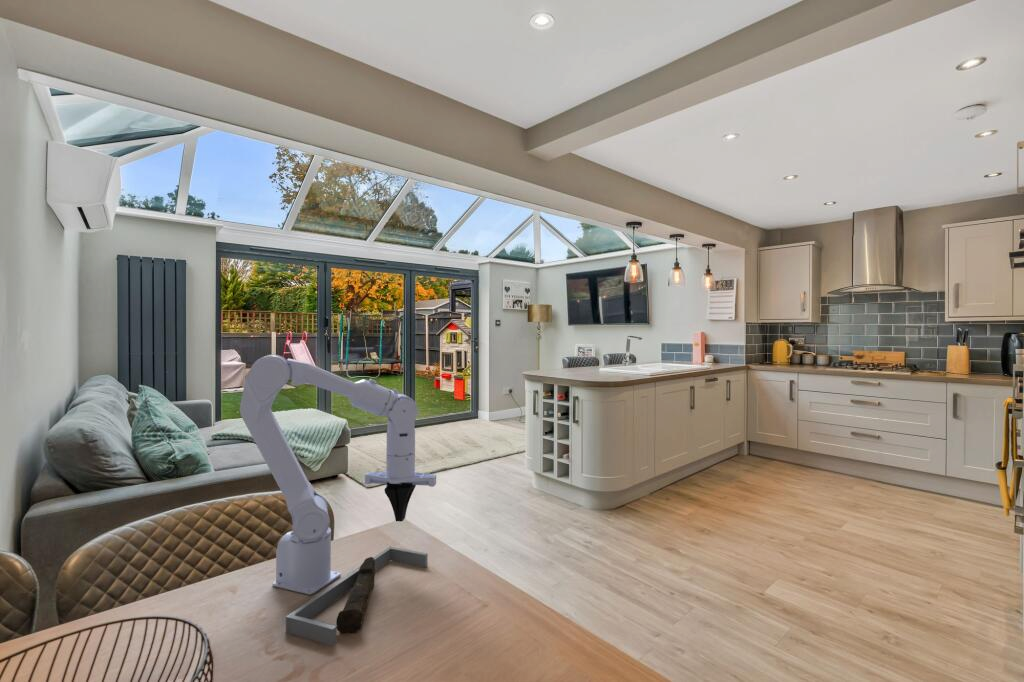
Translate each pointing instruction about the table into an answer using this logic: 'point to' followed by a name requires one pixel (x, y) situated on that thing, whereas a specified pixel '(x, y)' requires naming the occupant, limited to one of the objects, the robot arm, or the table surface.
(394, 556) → the u-shaped bracket
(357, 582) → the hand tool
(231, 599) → the table surface
